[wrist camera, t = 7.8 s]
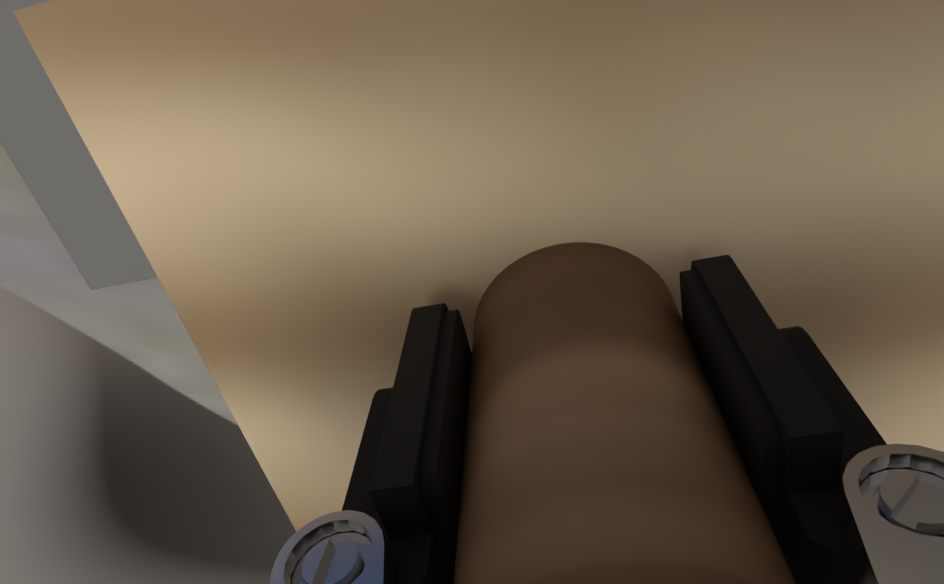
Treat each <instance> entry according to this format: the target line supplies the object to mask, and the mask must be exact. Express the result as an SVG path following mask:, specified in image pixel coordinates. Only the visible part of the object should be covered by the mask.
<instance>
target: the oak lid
mask: <svg viewBox="0 0 944 584" xmlns="http://www.w3.org/2000/svg"><path fill="white" fill-rule="evenodd" d="M13 13H14V15H15V16H16V18H17V20H18V22H19V24H20V26H21V27H22V29H23V31H24V33H25V35H26V37H27V38H28V40H29V42H30V44H31V46H32V48H33V49H34V51H35V53H36V55H37V57H38V59H39V60H40V62H41V64H42V66H43V68H44V70H45V71H46V73H47V75H48V77H49V79H50V81H51V82H52V84H53V86H54V88H55V90H56V92H57V93H58V95H59V97H60V99H61V101H62V103H63V104H64V106H65V108H66V110H67V112H68V114H69V115H70V117H71V119H72V121H73V123H74V125H75V126H76V128H77V130H78V132H79V134H80V136H81V137H82V139H83V141H84V143H85V145H86V147H87V148H88V150H89V152H90V154H91V156H92V158H93V159H94V161H95V163H96V165H97V167H98V169H99V170H100V172H101V174H102V176H103V178H104V180H105V181H106V183H107V185H108V187H109V189H110V191H111V192H112V194H113V196H114V198H115V200H116V202H117V203H118V205H119V207H120V209H121V211H122V213H123V214H124V216H125V218H126V220H127V222H128V224H129V225H130V227H131V229H132V231H133V233H134V235H135V236H136V238H137V240H138V242H139V244H140V246H141V247H142V249H143V251H144V253H145V255H146V257H147V258H148V260H149V262H150V264H151V266H152V268H153V269H154V271H155V273H156V275H157V277H158V279H159V280H160V282H161V284H162V286H163V288H164V290H165V291H166V293H167V295H168V297H169V299H170V301H171V302H172V304H173V306H174V308H175V310H176V312H177V313H178V315H179V317H180V319H181V321H182V323H183V324H184V326H185V328H186V330H187V332H188V334H189V335H190V337H191V339H192V341H193V343H194V345H195V346H196V348H197V350H198V352H199V354H200V356H201V357H202V359H203V361H204V363H205V365H206V367H207V368H208V370H209V372H210V374H211V376H212V378H213V379H214V381H215V383H216V385H217V387H218V389H219V390H220V392H221V394H222V396H223V398H224V400H225V401H226V403H227V405H228V407H229V409H230V411H231V412H232V414H233V416H234V418H235V420H236V422H237V423H238V425H239V427H240V429H241V431H242V433H243V434H244V436H245V438H246V440H247V441H248V444H249V445H250V447H251V449H252V451H253V453H254V454H255V456H256V458H257V460H258V462H259V464H260V465H261V467H262V469H263V471H264V473H265V474H266V477H267V478H268V480H269V482H270V484H271V486H272V487H273V489H274V491H275V493H276V495H277V497H278V498H279V500H280V502H281V504H282V506H283V508H284V510H285V511H286V513H287V515H288V517H289V519H290V520H291V522H292V524H293V526H294V527H295V530H296V532H297V531H298V530H299V529H301V528H302V527H303V526H305V525H306V524H308V523H310V522H311V521H313V520H314V519H316V518H318V517H321V516H323V515H326V514H329V513H332V512H337V511H342V508H343V504H344V500H345V497H346V493H347V490H348V486H349V482H350V479H351V475H352V471H353V468H354V464H355V461H356V457H357V453H358V450H359V446H360V442H361V439H362V435H363V432H364V428H365V424H366V421H367V417H368V414H369V410H370V406H371V403H372V399H373V397H374V394H375V392H376V391H378V390H379V389H385V388H392V387H393V386H394V382H395V377H396V373H397V369H398V365H399V361H400V356H401V352H402V348H403V344H404V340H405V336H406V331H407V327H408V323H409V319H410V315H411V311H412V309H413V308H418V307H423V306H429V305H435V304H441V303H445V304H446V305H447V307H448V310H449V311H450V310H456V309H458V310H459V312H460V314H461V317H462V320H463V324H464V328H465V331H466V335H467V338H468V342H469V345H470V349H471V353H472V358H471V370H470V383H469V395H468V408H467V420H466V433H465V446H464V458H463V471H462V483H461V496H460V508H459V521H458V533H457V545H456V557H455V570H454V582H453V584H796V583H795V581H794V578H793V576H792V574H791V571H790V569H789V567H788V564H787V562H786V560H785V557H784V555H783V553H782V550H781V548H780V546H779V543H778V541H777V539H776V536H775V534H774V532H773V530H772V527H771V525H770V523H769V520H768V518H767V516H766V513H765V511H764V509H763V507H762V504H761V502H760V500H759V497H758V495H757V493H756V491H755V488H754V486H753V484H752V481H751V479H750V477H749V474H748V472H747V470H746V467H745V465H744V463H743V460H742V458H741V456H740V453H739V451H738V449H737V446H736V444H735V442H734V439H733V437H732V435H731V432H730V430H729V428H728V425H727V423H726V421H725V418H724V416H723V414H722V412H721V409H720V407H719V405H718V402H717V400H716V398H715V395H714V393H713V391H712V388H711V386H710V384H709V381H708V379H707V377H706V374H705V372H704V370H703V367H702V365H701V363H700V360H699V358H698V356H697V353H696V351H695V349H694V346H693V344H692V342H691V339H690V337H689V335H688V333H687V330H686V328H685V326H684V323H683V321H682V307H681V293H680V277H679V276H680V272H681V271H687V270H691V262H692V261H693V260H699V259H705V258H711V257H717V256H722V255H730V257H731V258H732V259H733V261H734V262H735V264H736V265H737V267H738V268H739V270H740V272H741V273H742V275H743V276H744V278H745V279H746V281H747V282H748V284H749V285H750V287H751V288H752V290H753V292H754V293H755V295H756V296H757V298H758V299H759V301H760V302H761V304H762V305H763V307H764V308H765V310H766V312H767V313H768V315H769V316H770V318H771V319H772V321H773V322H774V324H775V325H776V327H777V328H778V329H782V328H788V327H795V326H799V327H802V328H803V329H804V330H805V331H806V332H807V333H808V334H809V336H810V337H811V338H812V340H813V341H814V343H815V344H816V345H817V347H818V348H819V350H820V351H821V352H822V354H823V355H824V357H825V358H826V359H827V361H828V362H829V364H830V365H831V366H832V368H833V369H834V371H835V372H836V373H837V375H838V376H839V378H840V379H841V380H842V382H843V383H844V385H845V386H846V387H847V389H848V390H849V392H850V393H851V394H852V396H853V397H854V399H855V400H856V401H857V403H858V404H859V406H860V407H861V408H862V410H863V411H864V413H865V414H866V415H867V417H868V418H869V420H870V421H871V422H872V424H873V425H874V427H875V428H876V429H877V431H878V432H879V434H880V435H881V436H882V438H883V439H884V441H885V442H886V443H887V445H888V444H908V445H919V446H923V447H927V448H931V449H935V450H939V451H943V452H944V0H51V1H47V2H44V3H40V4H36V5H33V6H29V7H25V8H22V9H18V10H14V11H13Z"/></svg>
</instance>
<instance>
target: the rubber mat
mask: <svg viewBox="0 0 944 584" xmlns="http://www.w3.org/2000/svg"><path fill="white" fill-rule="evenodd" d="M47 1H51V0H0V143H1V144H2V146H3V147H4V149H5V151H6V152H7V154H8V156H9V157H10V159H11V160H12V162H13V164H14V165H15V167H16V169H17V170H18V172H19V173H20V175H21V177H22V178H23V180H24V182H25V183H26V185H27V186H28V188H29V190H30V191H31V193H32V195H33V196H34V198H35V200H36V201H37V203H38V204H39V206H40V208H41V209H42V211H43V213H44V214H45V216H46V217H47V219H48V221H49V222H50V224H51V226H52V227H53V229H54V230H55V232H56V234H57V235H58V237H59V239H60V240H61V242H62V243H63V245H64V247H65V248H66V250H67V252H68V253H69V255H70V256H71V258H72V260H73V261H74V263H75V265H76V266H77V268H78V269H79V271H80V273H81V274H82V276H83V278H84V279H85V281H86V282H87V284H88V286H89V287H90V289H91V290H93V289H98V288H104V287H109V286H114V285H119V284H125V283H130V282H135V281H140V280H146V279H151V278H156V277H157V275H156V273H155V271H154V269H153V268H152V266H151V264H150V262H149V260H148V258H147V257H146V255H145V253H144V251H143V249H142V247H141V246H140V244H139V242H138V240H137V238H136V236H135V235H134V233H133V231H132V229H131V227H130V225H129V224H128V222H127V220H126V218H125V216H124V214H123V213H122V211H121V209H120V207H119V205H118V203H117V202H116V200H115V198H114V196H113V194H112V192H111V191H110V189H109V187H108V185H107V183H106V181H105V180H104V178H103V176H102V174H101V172H100V170H99V169H98V167H97V165H96V163H95V161H94V159H93V158H92V156H91V154H90V152H89V150H88V148H87V147H86V145H85V143H84V141H83V139H82V137H81V136H80V134H79V132H78V130H77V128H76V126H75V125H74V123H73V121H72V119H71V117H70V115H69V114H68V112H67V110H66V108H65V106H64V104H63V103H62V101H61V99H60V97H59V95H58V93H57V92H56V90H55V88H54V86H53V84H52V82H51V81H50V79H49V77H48V75H47V73H46V71H45V70H44V68H43V66H42V64H41V62H40V60H39V59H38V57H37V55H36V53H35V51H34V49H33V48H32V46H31V44H30V42H29V40H28V38H27V37H26V35H25V33H24V31H23V29H22V27H21V26H20V24H19V22H18V20H17V18H16V16H15V15H14V13H13V11H14V10H18V9H22V8H25V7H29V6H33V5H36V4H40V3H44V2H47Z"/></svg>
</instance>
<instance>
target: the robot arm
mask: <svg viewBox="0 0 944 584" xmlns="http://www.w3.org/2000/svg"><path fill="white" fill-rule="evenodd" d="M679 277H680V293H681V307H682V321H683V323H684V326H685V328H686V330H687V333H688V335H689V337H690V339H691V342H692V344H693V346H694V349H695V351H696V353H697V356H698V358H699V360H700V363H701V365H702V367H703V370H704V372H705V374H706V377H707V379H708V381H709V384H710V386H711V388H712V391H713V393H714V395H715V398H716V400H717V402H718V405H719V407H720V409H721V412H722V414H723V416H724V418H725V421H726V423H727V425H728V428H729V430H730V432H731V435H732V437H733V439H734V442H735V444H736V446H737V449H738V451H739V453H740V456H741V458H742V460H743V463H744V465H745V467H746V470H747V472H748V474H749V477H750V479H751V481H752V484H753V486H754V488H755V491H756V493H757V495H758V497H759V500H760V502H761V504H762V507H763V509H764V511H765V513H766V516H767V518H768V520H769V523H770V525H771V527H772V530H773V532H774V534H775V536H776V539H777V541H778V543H779V546H780V548H781V550H782V553H783V555H784V557H785V560H786V562H787V564H788V567H789V569H790V571H791V574H792V576H793V578H794V581H795V583H796V584H944V452H943V451H939V450H935V449H931V448H927V447H923V446H919V445H908V444H888V445H887V443H886V442H885V441H884V439H883V438H882V436H881V435H880V434H879V432H878V431H877V429H876V428H875V427H874V425H873V424H872V422H871V421H870V420H869V418H868V417H867V415H866V414H865V413H864V411H863V410H862V408H861V407H860V406H859V404H858V403H857V401H856V400H855V399H854V397H853V396H852V394H851V393H850V392H849V390H848V389H847V387H846V386H845V385H844V383H843V382H842V380H841V379H840V378H839V376H838V375H837V373H836V372H835V371H834V369H833V368H832V366H831V365H830V364H829V362H828V361H827V359H826V358H825V357H824V355H823V354H822V352H821V351H820V350H819V348H818V347H817V345H816V344H815V343H814V341H813V340H812V338H811V337H810V336H809V334H808V333H807V332H806V331H805V330H804V329H803V328H802V327H799V326H795V327H788V328H782V329H778V328H777V327H776V325H775V324H774V322H773V321H772V319H771V318H770V316H769V315H768V313H767V312H766V310H765V308H764V307H763V305H762V304H761V302H760V301H759V299H758V298H757V296H756V295H755V293H754V292H753V290H752V288H751V287H750V285H749V284H748V282H747V281H746V279H745V278H744V276H743V275H742V273H741V272H740V270H739V268H738V267H737V265H736V264H735V262H734V261H733V259H732V258H731V257H730V255H722V256H717V257H711V258H705V259H699V260H693V261H692V262H691V270H687V271H681V272H680V276H679ZM471 358H472V353H471V349H470V345H469V342H468V338H467V335H466V331H465V328H464V324H463V320H462V317H461V314H460V312H459V310H458V309H456V310H450V311H449V310H448V307H447V305H446V304H445V303H441V304H435V305H429V306H423V307H418V308H413V309H412V311H411V315H410V319H409V323H408V327H407V331H406V336H405V340H404V344H403V348H402V352H401V356H400V361H399V365H398V369H397V373H396V377H395V382H394V386H393V387H392V388H385V389H379V390H378V391H376V392H375V394H374V397H373V399H372V403H371V406H370V410H369V414H368V417H367V421H366V424H365V428H364V432H363V435H362V439H361V442H360V446H359V450H358V453H357V457H356V461H355V464H354V468H353V471H352V475H351V479H350V482H349V486H348V490H347V493H346V497H345V500H344V504H343V508H342V511H337V512H332V513H329V514H326V515H323V516H321V517H318V518H316V519H314V520H313V521H311V522H310V523H308V524H306V525H305V526H303V527H302V528H301V529H299V530H298V531H297V532H296V533H295V534H294V535H293V536H292V537H291V538H290V539H289V540H288V541H287V543H286V544H285V546H284V547H283V549H282V550H281V551H280V553H279V554H278V556H277V559H276V562H275V565H274V568H273V570H272V575H271V580H270V584H453V582H454V570H455V557H456V545H457V533H458V521H459V508H460V496H461V483H462V471H463V458H464V446H465V433H466V420H467V408H468V395H469V383H470V370H471Z"/></svg>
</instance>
